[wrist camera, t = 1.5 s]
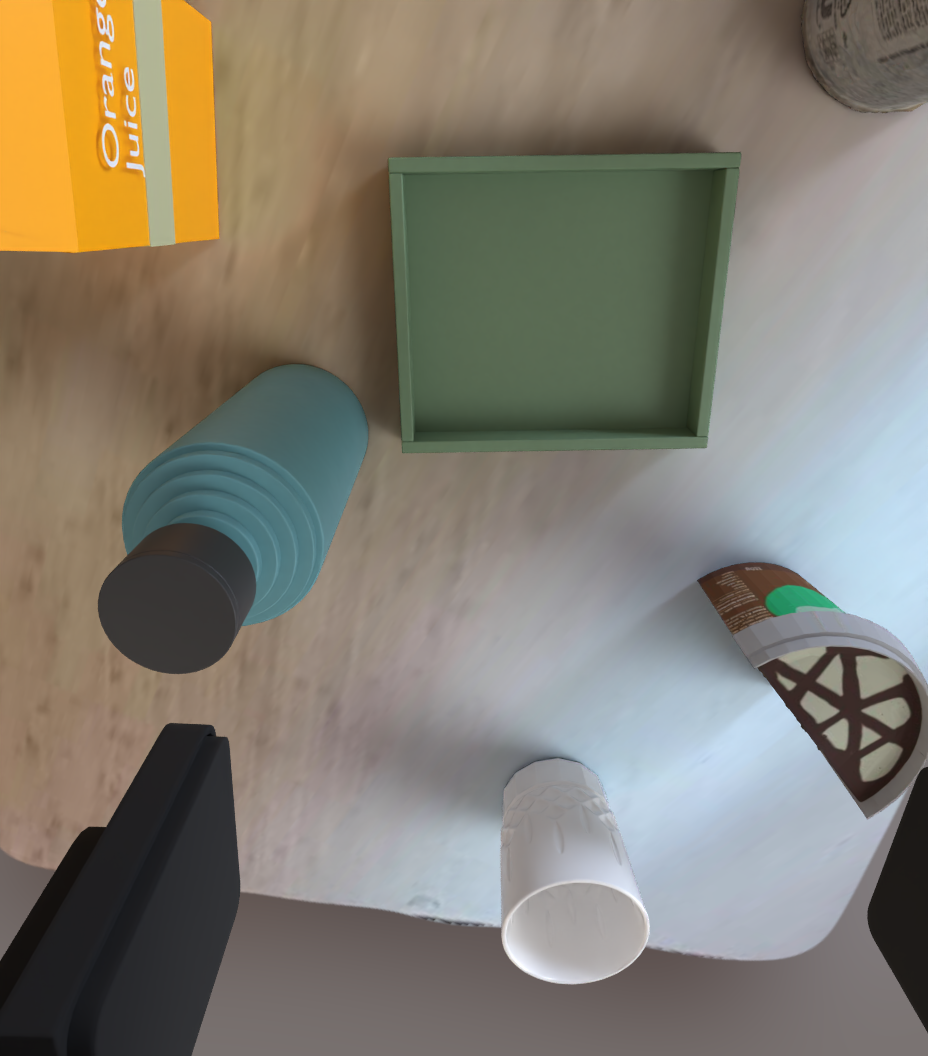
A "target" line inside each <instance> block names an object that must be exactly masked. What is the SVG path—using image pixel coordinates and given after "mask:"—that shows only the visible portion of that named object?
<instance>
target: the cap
mask: <svg viewBox="0 0 928 1056" xmlns="http://www.w3.org/2000/svg"><path fill="white" fill-rule="evenodd" d="M255 595H256V577H255V573H254V570H253V567H252V564H251V562H250V560H249V559H248V557H247V555H246V554H245V553H244V551H243V550H242V549H241V548H240V547H239V545H238V544H236V543H235V542H234V541H233V540H232V539H231V538H229V537H228V536H226V535H225V534H223V533H221V532H219V531H217V530H215V529H213V528H210V527H207V526H204V525H199V524H193V523H177V524H171V525H167V526H164V527H161V528H159V529H157V530H155V531H153V532H151V533H150V534H149V535H147V536H146V537H145V538H144V539H143V540H142V541H141V542H140V543H139V544H138V545H137V546H136V547H135V548H134V549H133V550H132V551H131V552H130V553H129V554H128V555H127V556H126V557H125V558H124V560H123V561H122V562H121V563H120V564H119V565H118V566H117V567H116V568H115V569H114V570H113V571H112V572H111V573H110V574H109V575H108V577H107V578H106V579H105V581H104V583H103V585H102V587H101V590H100V593H99V599H98V612H99V618H100V621H101V624H102V627H103V629H104V631H105V633H106V635H107V636H108V638H109V640H110V641H111V642H112V643H113V645H114V646H115V647H116V648H117V649H118V650H119V651H120V652H121V653H122V654H124V655H125V656H126V657H127V658H129V659H130V660H132V661H134V662H135V663H137V664H139V665H141V666H143V667H145V668H148V669H151V670H154V671H158V672H162V673H169V674H186V673H192V672H197V671H200V670H203V669H205V668H207V667H209V666H211V665H213V664H214V663H216V662H217V661H219V660H220V659H221V658H222V657H223V656H224V655H225V654H226V653H227V651H228V650H229V648H230V647H231V645H232V643H233V641H234V639H235V637H236V636H237V634H238V632H239V630H240V628H241V626H242V624H243V622H244V620H245V618H246V616H247V615H248V613H249V611H250V609H251V607H252V605H253V602H254V599H255Z"/></svg>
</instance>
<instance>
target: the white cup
mask: <svg viewBox="0 0 928 1056" xmlns="http://www.w3.org/2000/svg"><path fill="white" fill-rule="evenodd" d="M502 815H503V826H502V828H501V933H502V934H501V935H502V943H503V947H504V950H505V952H506V953H507V955H508V957H509V958H510V960H511V961H512V962H513V963H514V964H515V965H516V966H517V967H518V968H520V969H521V970H522V971H524V972H526V973H527V974H529V975H531V976H533V977H535V978H538V979H541V980H544V981H548V982H553V983H560V984H582V983H589V982H593V981H598V980H601V979H604V978H607V977H610V976H612V975H614V974H616V973H618V972H620V971H622V970H623V969H625V968H626V967H627V966H629V965H630V964H631V963H632V962H633V961H635V960H636V959H637V957H638V956H639V955H640V954H641V952H642V951H643V949H644V948H645V946H646V944H647V941H648V938H649V932H650V923H649V918H648V915H647V912H646V909H645V906H644V903H643V900H642V897H641V894H640V891H639V888H638V884H637V881H636V878H635V875H634V872H633V869H632V866H631V863H630V859H629V856H628V853H627V850H626V847H625V844H624V841H623V838H622V836H621V833H620V830H619V828H618V825H617V822H616V819H615V816H614V814H613V812H612V811H611V809H610V806H609V803H608V799H607V796H606V793H605V791H604V789H603V787H602V784H601V782H600V780H599V778H598V776H597V775H596V774H595V773H593V772H592V771H591V770H589V769H588V768H586V767H585V766H584V765H582V764H581V763H578V762H574V761H569V760H564V759H559V758H556V759H549V760H543V761H536V762H533V763H532V764H530V765H528V766H526V767H525V768H523V769H521V770H520V771H518V772H516V773H515V774H514V776H513V777H512V779H511V780H510V781H509V783H508V784H507V786H506V787H505V789H504V793H503V807H502Z"/></svg>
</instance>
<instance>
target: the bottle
mask: <svg viewBox="0 0 928 1056" xmlns="http://www.w3.org/2000/svg"><path fill="white" fill-rule="evenodd" d="M367 444H368V425H367V420H366V416H365V413H364V410H363V408H362V406H361V404H360V402H359V400H358V399H357V397H356V396H355V394H354V393H353V392H352V390H351V389H350V388H349V387H348V386H347V385H346V384H345V383H344V382H342V381H341V380H340V379H339V378H337V377H336V376H334V375H332V374H331V373H329V372H327V371H325V370H322V369H320V368H317V367H314V366H309V365H303V364H289V365H282V366H278V367H275V368H272V369H269V370H267V371H265V372H263V373H262V374H260V375H259V376H257V377H256V378H255V379H253V380H252V381H251V382H250V383H248V384H247V385H246V386H245V387H243V388H242V389H241V390H240V391H238V392H237V393H236V394H235V395H233V396H232V397H231V398H230V399H228V400H227V401H226V402H225V403H223V404H222V405H221V406H220V407H218V408H217V409H216V410H215V411H213V412H212V413H211V414H210V415H209V416H207V417H206V418H205V419H204V420H202V421H201V422H200V423H199V424H197V425H196V426H195V427H194V428H192V429H191V430H190V431H189V432H187V433H186V434H185V435H184V436H182V437H181V438H180V439H179V440H177V441H176V442H175V443H174V444H172V445H171V446H170V447H169V448H167V449H166V450H165V451H164V452H162V453H161V454H160V455H159V456H157V457H156V458H155V459H154V460H152V461H151V462H150V463H149V464H148V465H147V466H146V467H145V468H144V469H143V470H142V471H141V472H140V473H139V474H138V476H137V477H136V479H135V480H134V481H133V483H132V485H131V487H130V489H129V491H128V493H127V496H126V500H125V503H124V508H123V514H122V531H123V538H124V543H125V548H126V552H127V555H128V554H129V553H130V552H131V551H132V550H133V549H134V548H135V547H136V546H137V545H138V544H139V543H140V542H141V541H142V540H143V539H144V538H145V537H146V536H147V535H149V534H150V533H151V532H153V531H155V530H157V529H159V528H161V527H164V526H167V525H171V524H177V523H193V524H199V525H204V526H207V527H210V528H213V529H215V530H217V531H219V532H221V533H223V534H225V535H226V536H228V537H229V538H231V539H232V540H233V541H234V542H235V543H236V544H238V545H239V547H240V548H241V549H242V550H243V551H244V553H245V554H246V555H247V557H248V559H249V560H250V562H251V564H252V567H253V570H254V573H255V577H256V595H255V599H254V602H253V605H252V607H251V609H250V611H249V613H248V615H247V616H246V618H245V620H244V622H243V624H242V626H246V625H251V624H256V623H261V622H264V621H267V620H270V619H273V618H275V617H277V616H279V615H281V614H284V613H285V612H287V611H288V610H290V609H291V608H293V607H294V606H295V605H296V604H298V603H299V602H300V601H301V600H302V599H303V598H304V597H305V596H306V594H307V593H308V592H309V591H310V589H311V588H312V586H313V585H314V583H315V581H316V579H317V577H318V575H319V572H320V570H321V567H322V565H323V562H324V560H325V557H326V555H327V552H328V549H329V547H330V544H331V542H332V539H333V536H334V534H335V531H336V529H337V526H338V523H339V521H340V518H341V516H342V513H343V510H344V508H345V505H346V503H347V500H348V497H349V495H350V492H351V490H352V487H353V485H354V482H355V479H356V477H357V474H358V472H359V469H360V466H361V464H362V461H363V459H364V456H365V453H366V449H367Z"/></svg>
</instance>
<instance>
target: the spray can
mask: <svg viewBox="0 0 928 1056" xmlns="http://www.w3.org/2000/svg"><path fill="white" fill-rule="evenodd" d="M801 18H802V23H801V26H802V34H803V44H804V48H805V55H806V60H807V64H808V66H809V67H810V69H811V70H812V71H813V76H814V78H815V79H817V81H818V82H820V83H821V84H820V85H822V86H823V88H824V89H826V90H827V93H829V94H830V95H831V96H832V97H834V98H835V100H838V101H839V102H841V103H843V104H845V105H848V106H850V108H852V109H854V110H855V111H859V112H861V113H866V112H872V113H877V112H882V113H887V112H905V111H913V110H914V109H916V108H918V107H919V106H921V105H923V104H924V103H927V102H928V0H805V2H804V7H803V11H802V15H801Z"/></svg>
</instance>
